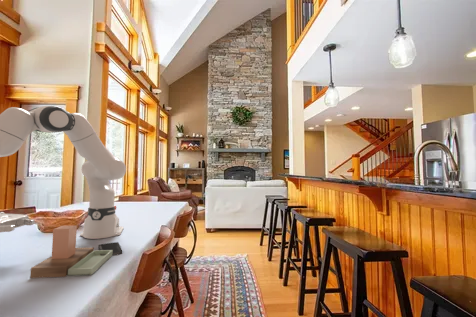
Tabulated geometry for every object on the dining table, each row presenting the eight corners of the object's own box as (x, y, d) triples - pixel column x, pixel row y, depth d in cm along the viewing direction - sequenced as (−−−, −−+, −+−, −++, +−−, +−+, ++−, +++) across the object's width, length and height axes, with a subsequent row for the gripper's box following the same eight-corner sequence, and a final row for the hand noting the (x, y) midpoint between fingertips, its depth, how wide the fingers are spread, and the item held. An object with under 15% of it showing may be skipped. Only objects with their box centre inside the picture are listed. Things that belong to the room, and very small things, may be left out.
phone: (100, 255, 92) (98, 244, 104) (100, 258, 92) (98, 247, 104) (123, 251, 96) (118, 241, 109) (123, 254, 96) (118, 244, 109)
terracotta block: (60, 253, 86) (61, 225, 87) (75, 253, 87) (76, 225, 87) (51, 258, 81) (53, 229, 82) (67, 258, 82) (69, 228, 83)
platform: (65, 255, 92) (66, 247, 93) (93, 255, 94) (93, 247, 94) (30, 277, 74) (30, 268, 74) (65, 276, 75) (66, 266, 75)
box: (93, 255, 93) (93, 250, 93) (112, 255, 94) (112, 249, 94) (67, 275, 76) (67, 269, 76) (91, 275, 76) (91, 268, 77)
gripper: (-54, 222, 71) (-1, 222, 73) (3, 211, 91) (43, 211, 93) (-56, 243, 70) (-3, 243, 72) (2, 228, 90) (42, 227, 92)
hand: (23, 225), depth 83 cm, fingers open, 8 cm apart
